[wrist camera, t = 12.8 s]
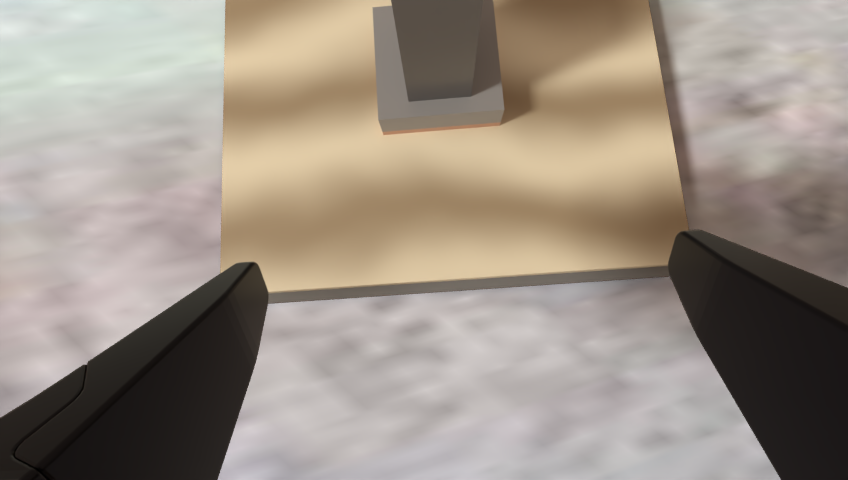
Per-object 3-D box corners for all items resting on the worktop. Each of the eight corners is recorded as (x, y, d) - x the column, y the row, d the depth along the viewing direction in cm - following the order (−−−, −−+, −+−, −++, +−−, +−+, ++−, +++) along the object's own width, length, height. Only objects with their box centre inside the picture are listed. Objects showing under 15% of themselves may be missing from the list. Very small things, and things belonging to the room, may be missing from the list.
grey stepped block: (499, 125, 22) (536, 2, 13) (383, 135, 22) (343, 20, 14) (489, 20, 23) (516, -160, 14) (377, 30, 23) (337, -141, 15)
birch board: (690, 275, 22) (708, 272, 20) (224, 306, 23) (209, 306, 21) (631, -65, 25) (642, -88, 24) (229, -27, 26) (217, -47, 25)
